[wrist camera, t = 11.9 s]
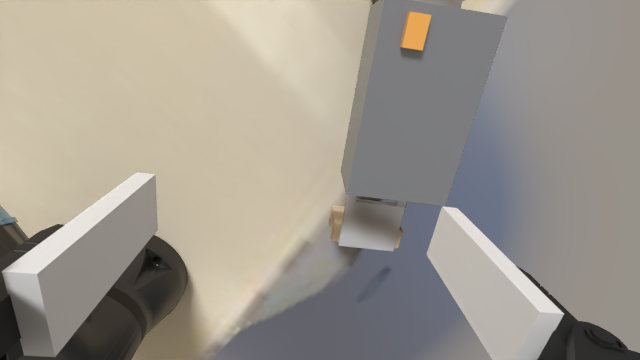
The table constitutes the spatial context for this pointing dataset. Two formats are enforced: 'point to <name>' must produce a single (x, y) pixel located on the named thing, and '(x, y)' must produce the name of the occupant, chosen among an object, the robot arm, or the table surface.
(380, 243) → the keyhole board
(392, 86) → the grey box orange tab
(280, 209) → the table surface
